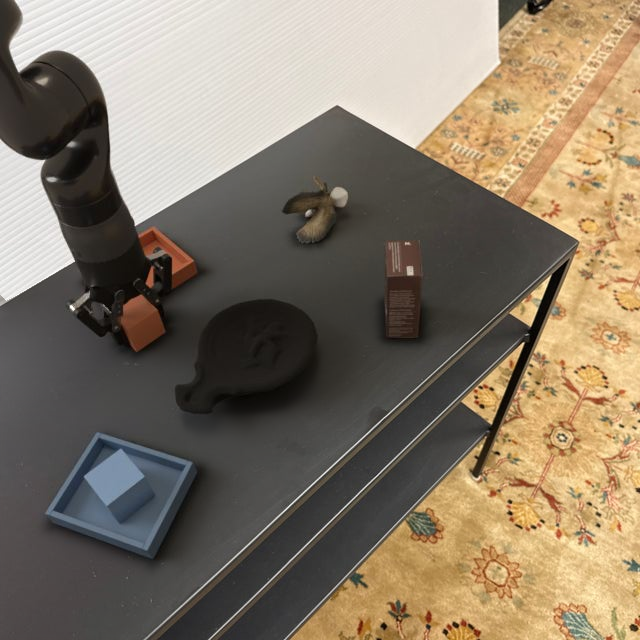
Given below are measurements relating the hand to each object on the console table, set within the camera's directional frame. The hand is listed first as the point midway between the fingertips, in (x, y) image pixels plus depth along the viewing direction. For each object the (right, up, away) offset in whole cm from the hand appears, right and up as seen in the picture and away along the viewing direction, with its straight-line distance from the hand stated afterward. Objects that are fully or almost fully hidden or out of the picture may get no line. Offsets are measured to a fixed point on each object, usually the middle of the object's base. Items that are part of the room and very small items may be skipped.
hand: (140, 330), depth 85 cm
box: (+34, +1, 0) cm, 34 cm away
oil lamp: (+14, -5, -4) cm, 16 cm away
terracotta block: (0, 0, 0) cm, 0 cm away
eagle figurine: (+23, +16, +13) cm, 31 cm away
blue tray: (+2, -18, -14) cm, 23 cm away
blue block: (+2, -18, -15) cm, 23 cm away
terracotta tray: (-2, +8, +7) cm, 10 cm away
